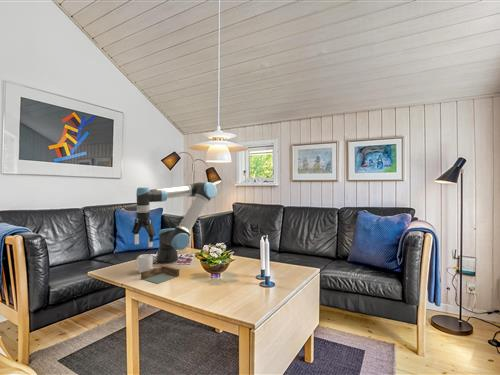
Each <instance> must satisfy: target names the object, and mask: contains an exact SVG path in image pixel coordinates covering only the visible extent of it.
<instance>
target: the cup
mask: <svg viewBox="0 0 500 375" xmlns="http://www.w3.org/2000/svg"><path fill="white" fill-rule="evenodd" d="M153 260H154V257H153V254H151V253H150V254H149V253H148V254H147V253H146V254H145V253H144V254H140V255H138V256H137V257H136V259H135V265H136V267H137V268H138V273H139V274H141V272H143V271H146V270H150V269H153V268H154V267H153Z"/></svg>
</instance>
